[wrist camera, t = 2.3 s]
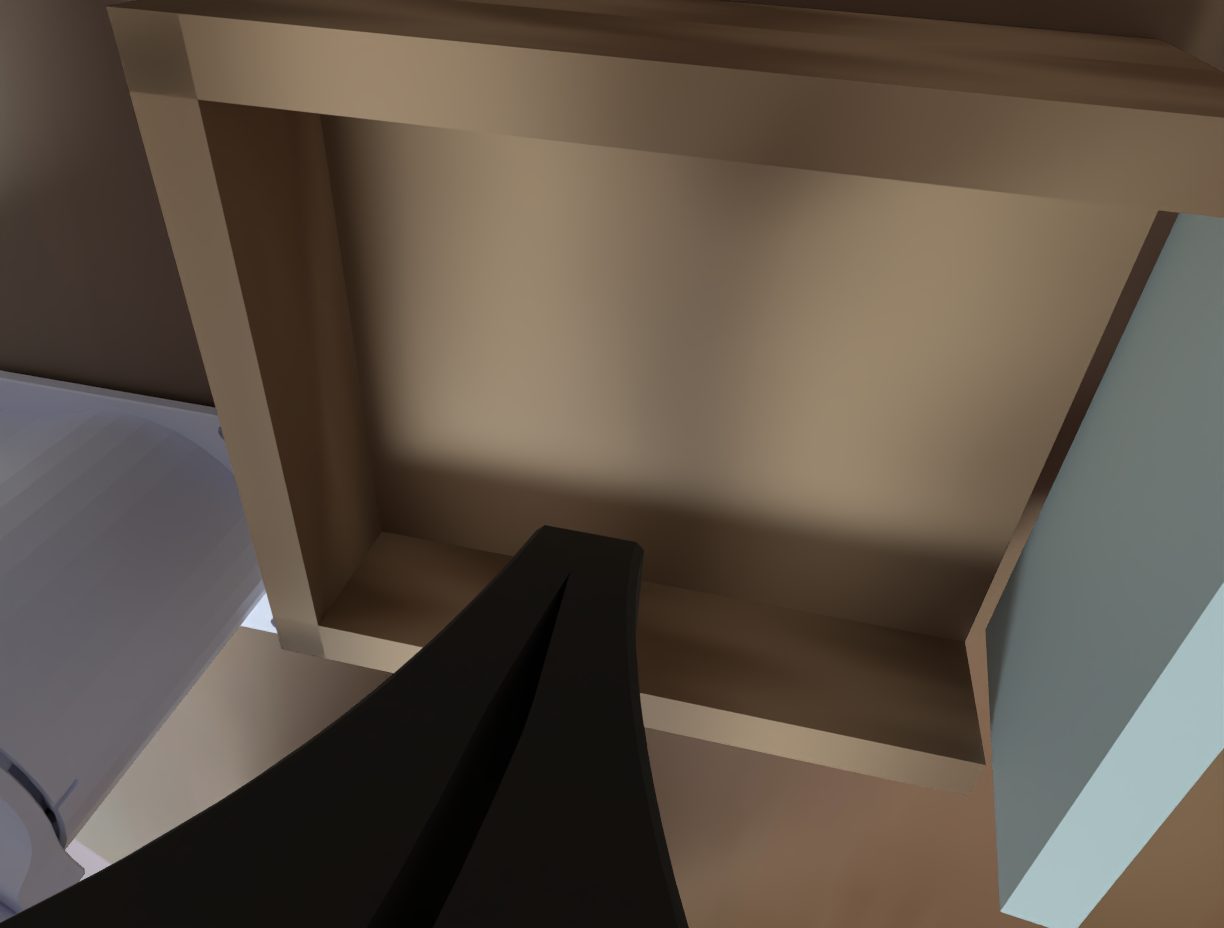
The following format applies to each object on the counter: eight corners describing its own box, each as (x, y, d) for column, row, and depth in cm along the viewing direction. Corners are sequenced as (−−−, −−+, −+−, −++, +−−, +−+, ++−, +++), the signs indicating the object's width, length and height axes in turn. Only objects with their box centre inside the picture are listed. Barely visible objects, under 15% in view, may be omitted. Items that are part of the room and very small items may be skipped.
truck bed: (391, 493, 22) (281, 648, 18) (320, -35, 15) (105, 6, 10) (938, 593, 20) (969, 797, 16) (1160, 39, 13) (1331, 127, 8)
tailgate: (985, 616, 17) (1000, 911, 12) (1188, 172, 12) (1359, 383, 7) (1035, 628, 17) (1071, 934, 12) (1265, 182, 12) (1498, 407, 7)
